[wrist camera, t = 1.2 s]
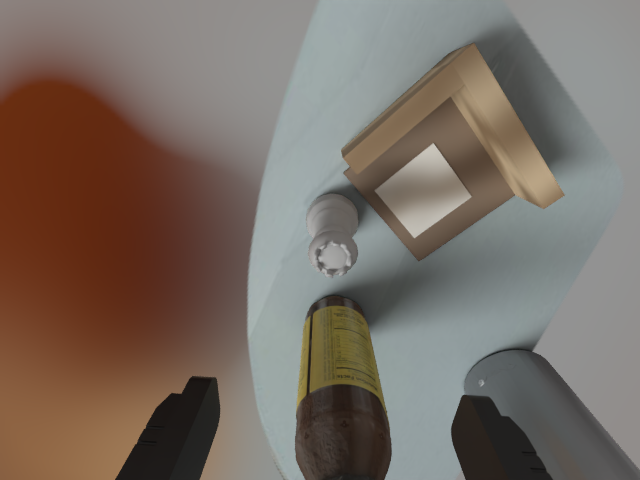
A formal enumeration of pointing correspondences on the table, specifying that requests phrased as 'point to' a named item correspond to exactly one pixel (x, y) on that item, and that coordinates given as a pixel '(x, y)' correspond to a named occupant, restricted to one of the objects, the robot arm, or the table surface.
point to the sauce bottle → (340, 397)
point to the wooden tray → (447, 155)
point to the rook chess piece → (332, 234)
